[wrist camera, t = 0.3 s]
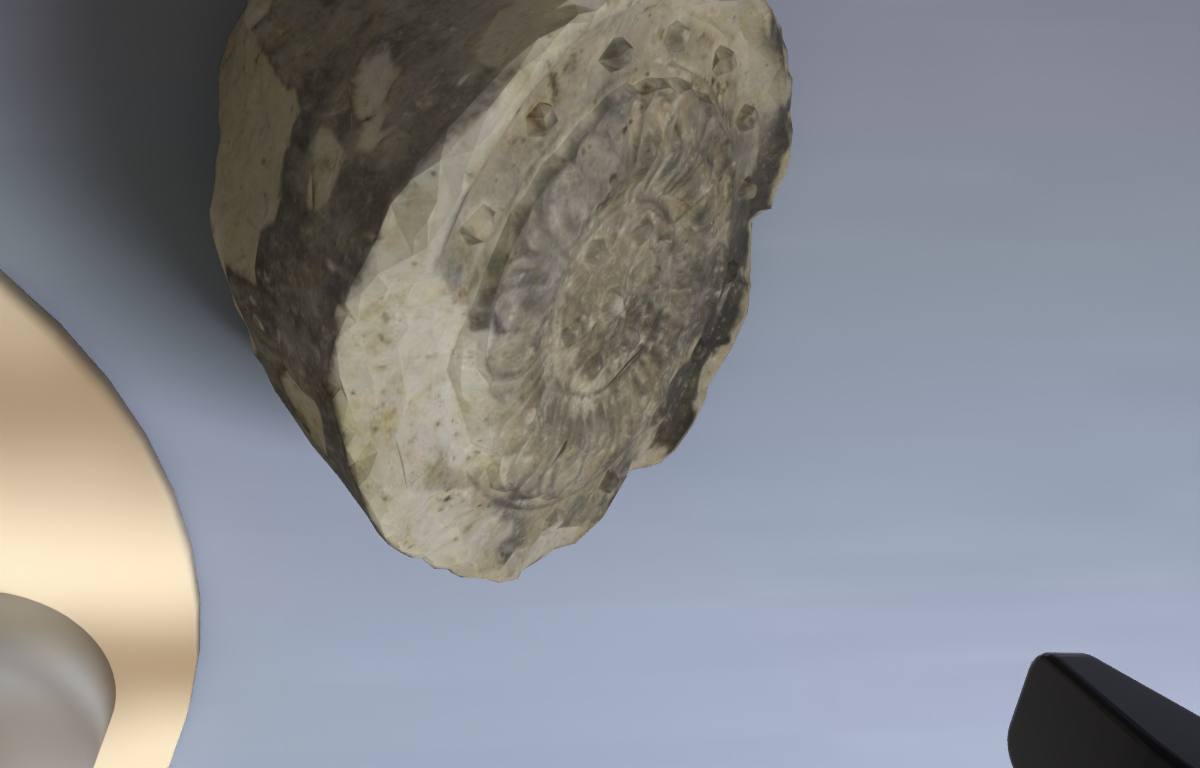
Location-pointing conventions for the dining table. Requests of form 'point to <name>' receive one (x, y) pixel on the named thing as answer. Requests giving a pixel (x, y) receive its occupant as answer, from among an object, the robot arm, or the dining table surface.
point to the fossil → (495, 244)
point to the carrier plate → (85, 563)
